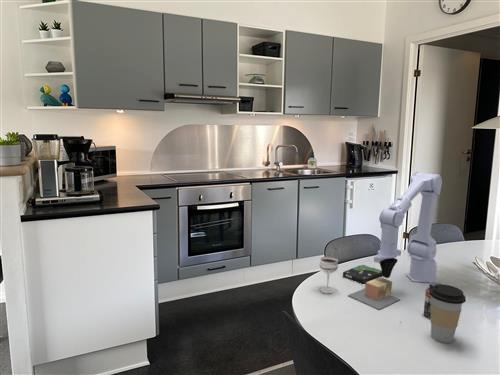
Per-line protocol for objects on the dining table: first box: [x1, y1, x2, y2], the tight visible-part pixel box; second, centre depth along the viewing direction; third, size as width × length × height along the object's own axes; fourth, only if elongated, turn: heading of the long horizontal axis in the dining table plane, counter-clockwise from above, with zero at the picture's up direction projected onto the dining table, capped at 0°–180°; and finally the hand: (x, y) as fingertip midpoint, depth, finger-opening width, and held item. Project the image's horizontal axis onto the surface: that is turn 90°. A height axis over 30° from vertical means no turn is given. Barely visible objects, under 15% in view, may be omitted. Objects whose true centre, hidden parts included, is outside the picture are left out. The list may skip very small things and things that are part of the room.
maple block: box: [364, 277, 393, 301], centre depth 138 cm, size 5×5×9 cm
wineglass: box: [319, 256, 339, 294], centre depth 141 cm, size 7×7×12 cm
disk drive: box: [342, 264, 383, 285], centre depth 156 cm, size 10×3×15 cm
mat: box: [347, 287, 401, 311], centre depth 136 cm, size 13×13×1 cm
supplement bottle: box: [423, 281, 442, 320], centre depth 123 cm, size 6×6×11 cm
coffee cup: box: [429, 283, 466, 344], centre depth 110 cm, size 9×9×15 cm
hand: (386, 277), depth 140 cm, fingers closed
